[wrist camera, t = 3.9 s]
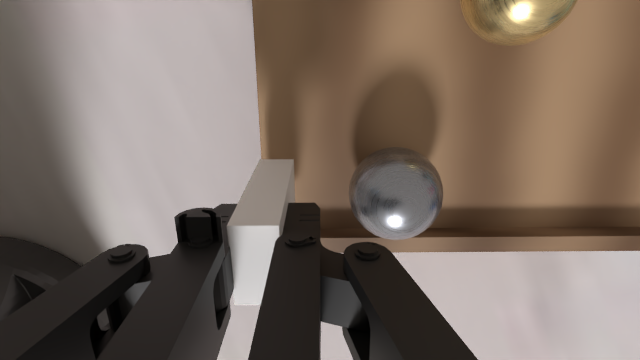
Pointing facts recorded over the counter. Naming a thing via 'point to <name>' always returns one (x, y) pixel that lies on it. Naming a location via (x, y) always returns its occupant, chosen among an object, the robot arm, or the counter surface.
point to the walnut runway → (459, 119)
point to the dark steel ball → (396, 193)
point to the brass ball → (514, 19)
